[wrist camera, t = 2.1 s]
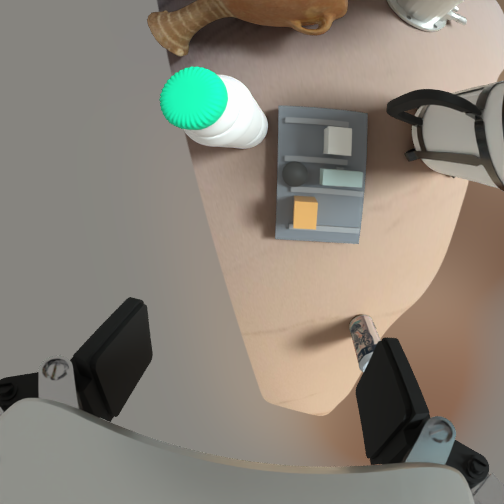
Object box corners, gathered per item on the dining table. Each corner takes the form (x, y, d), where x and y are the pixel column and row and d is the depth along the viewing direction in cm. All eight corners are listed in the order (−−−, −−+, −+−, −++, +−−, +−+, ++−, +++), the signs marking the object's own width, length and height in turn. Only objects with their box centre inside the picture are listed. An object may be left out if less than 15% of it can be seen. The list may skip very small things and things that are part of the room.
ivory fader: (344, 131, 35) (352, 128, 30) (343, 155, 36) (351, 155, 32) (324, 129, 35) (328, 125, 31) (323, 153, 36) (328, 153, 32)
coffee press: (440, 78, 30) (565, 41, 3) (477, 161, 34) (606, 195, 6) (365, 112, 35) (488, 61, 8) (409, 201, 39) (540, 280, 11)
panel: (363, 115, 36) (369, 112, 32) (355, 239, 43) (360, 246, 39) (279, 108, 37) (278, 104, 34) (276, 234, 44) (274, 241, 41)
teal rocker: (358, 171, 36) (363, 172, 35) (357, 186, 37) (362, 187, 36) (320, 168, 36) (323, 168, 34) (319, 183, 37) (322, 185, 35)
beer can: (355, 310, 47) (370, 352, 36) (376, 317, 47) (394, 358, 36) (344, 330, 49) (354, 374, 38) (364, 336, 49) (378, 379, 38)
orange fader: (314, 196, 39) (317, 202, 34) (313, 220, 40) (316, 229, 36) (294, 195, 39) (294, 201, 35) (292, 219, 40) (293, 228, 36)
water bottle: (278, 124, 38) (262, 85, 15) (247, 158, 41) (191, 166, 17) (243, 96, 37) (185, 33, 14) (213, 129, 40) (124, 109, 16)
